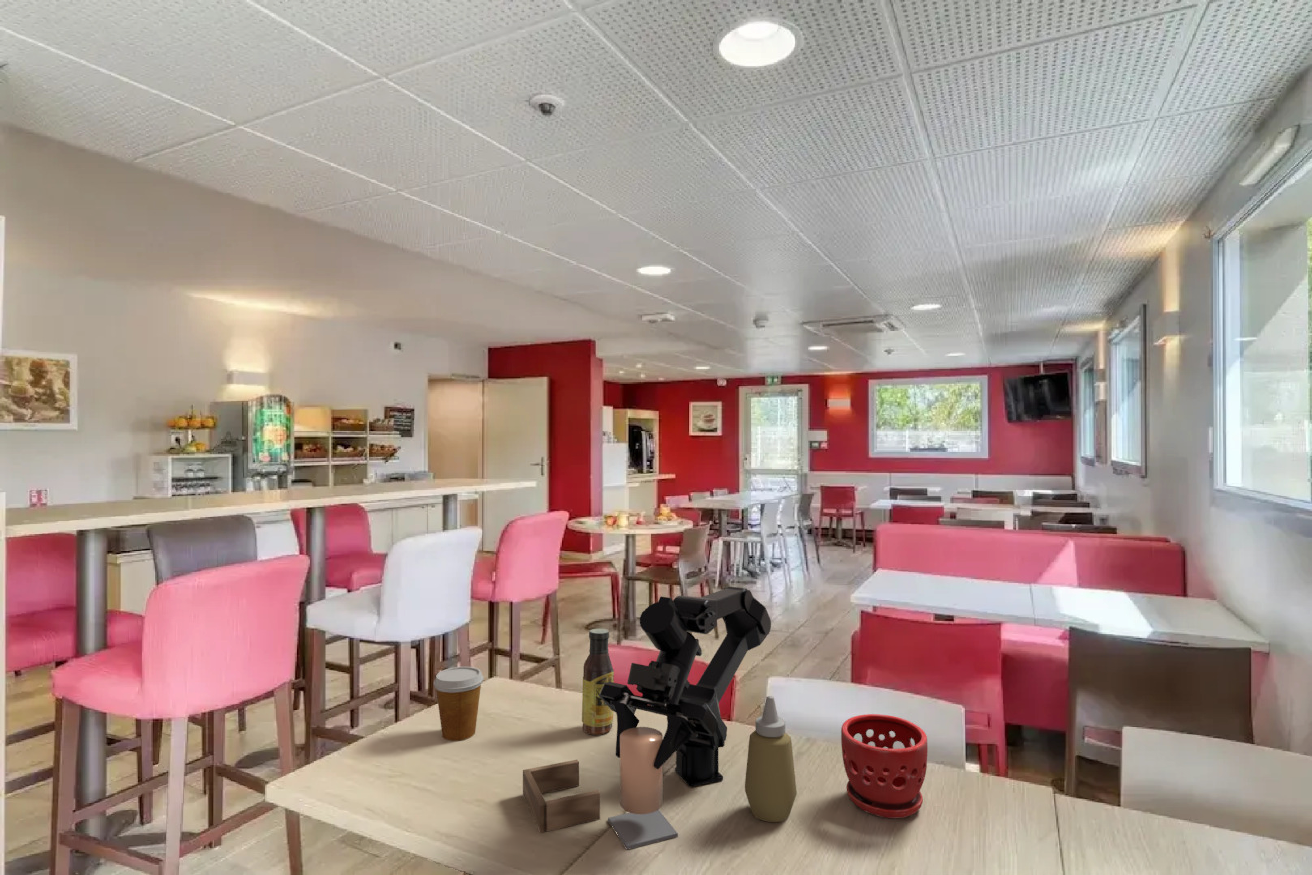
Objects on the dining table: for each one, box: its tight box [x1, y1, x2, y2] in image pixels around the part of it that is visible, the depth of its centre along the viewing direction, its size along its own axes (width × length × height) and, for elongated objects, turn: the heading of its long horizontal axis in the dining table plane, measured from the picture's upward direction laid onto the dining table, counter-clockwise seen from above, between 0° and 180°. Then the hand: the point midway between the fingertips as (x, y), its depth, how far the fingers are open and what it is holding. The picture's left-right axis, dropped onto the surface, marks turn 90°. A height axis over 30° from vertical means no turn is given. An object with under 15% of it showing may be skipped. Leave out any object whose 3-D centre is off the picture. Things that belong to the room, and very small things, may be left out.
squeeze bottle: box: [744, 695, 798, 823], centre depth 107 cm, size 8×8×18 cm
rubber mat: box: [607, 809, 679, 850], centre depth 102 cm, size 8×8×1 cm
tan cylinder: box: [619, 726, 664, 814], centre depth 103 cm, size 8×6×10 cm
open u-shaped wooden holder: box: [522, 759, 601, 834], centre depth 109 cm, size 9×12×4 cm
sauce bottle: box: [581, 628, 615, 736], centre depth 137 cm, size 7×6×20 cm
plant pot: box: [840, 713, 929, 819], centre depth 109 cm, size 13×13×12 cm
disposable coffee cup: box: [433, 666, 484, 742], centre depth 135 cm, size 10×10×12 cm
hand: (636, 762), depth 101 cm, fingers closed on tan cylinder, 6 cm apart
